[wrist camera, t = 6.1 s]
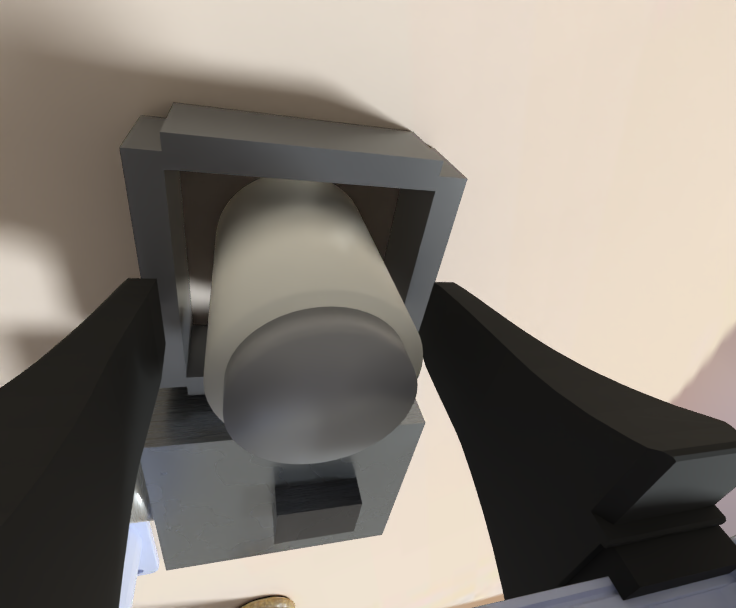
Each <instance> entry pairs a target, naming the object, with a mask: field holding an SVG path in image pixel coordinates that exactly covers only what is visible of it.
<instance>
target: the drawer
mask: <svg viewBox="0 0 736 608" xmlns="http://www.w3.org/2000/svg"><path fill="white" fill-rule="evenodd" d="M424 425H425V421H424V418H423V416H422V413H421V411H420V409H419V406H418V404H417V401H416V399H415V401H414V403H413V405H412V408H411V410H410V411H409V413H408V414H407V416H406V417H405V419H404V420H403V421H402V422H401V423H400V425H398V426H397V427H396V428H395V429H394V430H393V431H392V432H391V433H390V434H388V435H387V436H386V437H385V438H383V439H382V440H380V441H379V442H377V443H375V444H374V445H372V446H370V447H368V448H366V449H364V450H362V451H360V452H358V453H355V454H352V455H350V456H347V457H343V458H340V459H336V460H332V461H327V462H321V463H314V464H286V463H279V462H274V461H269V460H266V459H263V458H260V457H257V456H255V455H253V454H251V453H249V452H247V451H246V450H244V449H243V448H241V447H240V446H239V445H238V444H237V443H236V442H235V441H234V440H233V439H232V438H231V437H230V435H229V433H228V431H227V430H226V427H225V424H224V422H222V421H221V420H220V419H219V418H218V416H217V415H216V414H215V413H214V412H213V410H212V409H211V407H210V405H209V404H208V401H207V398H206V396H205V394H202V395H188V389H187V387H171V388H159V391H158V395H157V399H156V403H155V407H154V411H153V414H152V418H151V422H150V426H149V430H148V433H147V437H146V441H145V445H144V449H143V452H142V456H141V460H140V464H139V469H138V474H137V478H136V484H135V491H134V498H133V504H132V511H131V518H130V524H131V523H138V522H146V521H153V520H155V525H156V529H157V533H158V537H159V542H160V546H161V550H162V554H163V559H164V563H165V567H166V570H172V569H178V568H184V567H190V566H196V565H202V564H208V563H214V562H220V561H226V560H232V559H238V558H244V557H250V556H256V555H262V554H268V553H274V552H280V551H287V550H293V549H299V548H305V547H311V546H317V545H323V544H329V543H335V542H341V541H347V540H353V539H359V538H365V537H371V536H377V535H382V533H383V531H384V528H385V526H386V523H387V520H388V518H389V515H390V513H391V510H392V507H393V505H394V502H395V500H396V497H397V495H398V492H399V489H400V487H401V484H402V482H403V479H404V476H405V474H406V471H407V469H408V466H409V464H410V461H411V458H412V456H413V453H414V451H415V448H416V445H417V443H418V440H419V438H420V435H421V433H422V430H423V427H424Z"/></svg>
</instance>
